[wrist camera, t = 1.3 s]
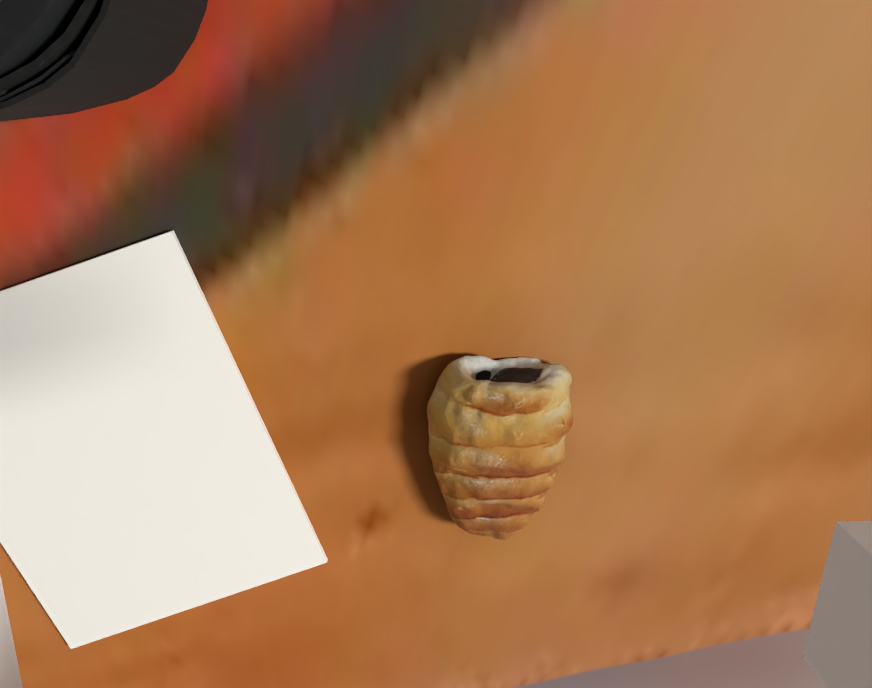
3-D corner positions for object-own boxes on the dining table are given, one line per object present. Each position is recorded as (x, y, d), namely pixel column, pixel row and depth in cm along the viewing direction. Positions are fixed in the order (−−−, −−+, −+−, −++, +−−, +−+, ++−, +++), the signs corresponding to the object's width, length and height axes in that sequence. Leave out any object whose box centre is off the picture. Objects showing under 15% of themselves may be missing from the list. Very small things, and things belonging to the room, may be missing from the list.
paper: (-130, 336, 32) (-135, 339, 31) (173, 229, 31) (171, 231, 31) (73, 644, 38) (70, 648, 38) (327, 558, 38) (327, 562, 37)
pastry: (548, 519, 38) (566, 564, 35) (419, 520, 38) (425, 566, 34) (567, 351, 35) (589, 381, 32) (427, 348, 34) (434, 379, 31)
